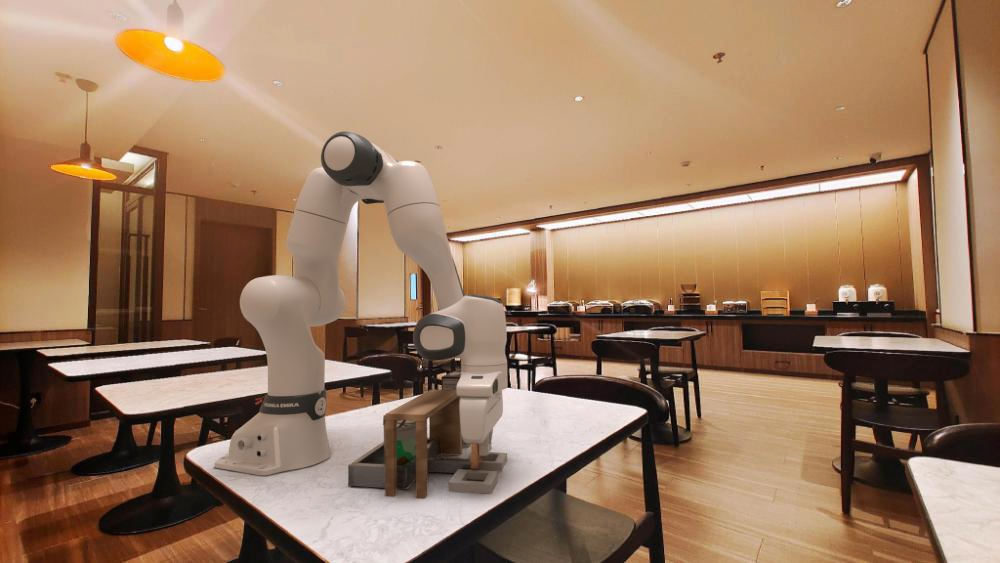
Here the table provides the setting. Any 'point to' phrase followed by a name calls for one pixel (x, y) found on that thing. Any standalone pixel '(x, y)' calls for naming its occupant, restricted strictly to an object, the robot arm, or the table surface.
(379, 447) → the shallow grey tray
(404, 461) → the food container
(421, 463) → the brown wooden bench
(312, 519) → the table surface
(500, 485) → the table surface
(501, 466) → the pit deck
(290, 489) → the table surface
